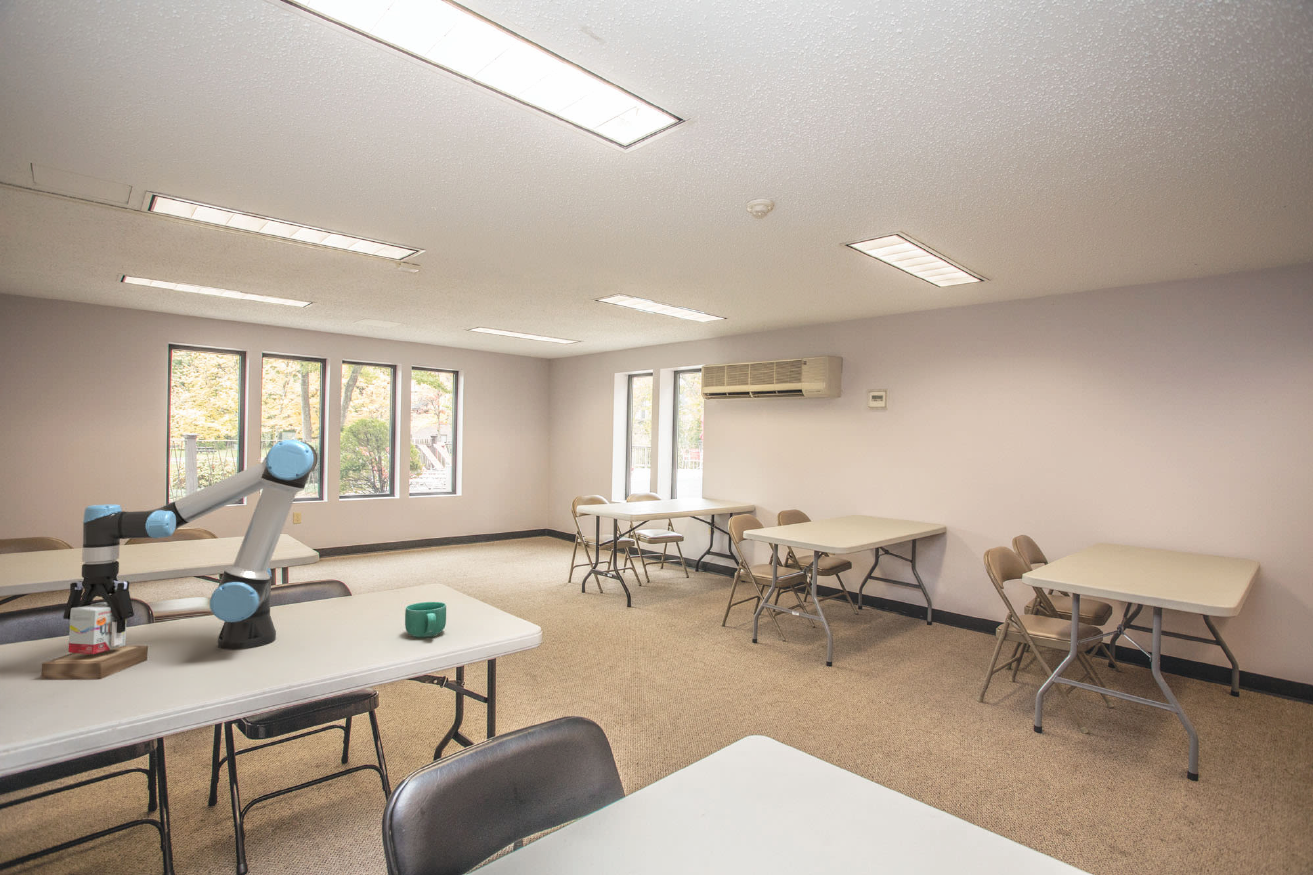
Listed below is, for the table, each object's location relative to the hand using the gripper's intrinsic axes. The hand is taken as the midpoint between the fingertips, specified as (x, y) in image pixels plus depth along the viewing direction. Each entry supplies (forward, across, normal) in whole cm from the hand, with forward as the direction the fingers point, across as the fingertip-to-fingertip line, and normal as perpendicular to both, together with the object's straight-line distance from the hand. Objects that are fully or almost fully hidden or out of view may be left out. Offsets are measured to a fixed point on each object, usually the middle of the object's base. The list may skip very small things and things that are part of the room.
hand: (97, 644), depth 166 cm
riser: (+7, 0, 0) cm, 7 cm away
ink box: (+1, 0, 0) cm, 1 cm away
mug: (+7, -78, -30) cm, 84 cm away
